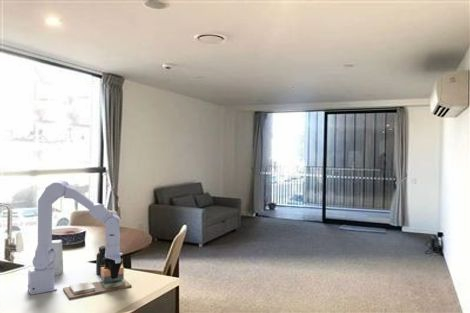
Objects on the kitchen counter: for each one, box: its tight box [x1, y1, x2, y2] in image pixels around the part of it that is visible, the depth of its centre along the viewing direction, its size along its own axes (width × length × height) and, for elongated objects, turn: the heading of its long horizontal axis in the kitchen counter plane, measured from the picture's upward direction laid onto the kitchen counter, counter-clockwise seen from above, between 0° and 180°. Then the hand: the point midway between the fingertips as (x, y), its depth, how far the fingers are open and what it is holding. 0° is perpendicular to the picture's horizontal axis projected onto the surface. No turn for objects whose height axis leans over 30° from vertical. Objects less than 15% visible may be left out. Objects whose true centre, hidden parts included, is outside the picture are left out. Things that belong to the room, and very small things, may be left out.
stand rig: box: [62, 278, 133, 300], centre depth 155 cm, size 24×12×2 cm, turn 125°
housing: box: [100, 265, 125, 283], centre depth 158 cm, size 5×8×5 cm, turn 125°
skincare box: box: [52, 239, 64, 276], centre depth 173 cm, size 8×6×15 cm
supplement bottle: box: [95, 245, 106, 276], centre depth 175 cm, size 7×7×12 cm
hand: (112, 276), depth 158 cm, fingers closed on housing, 5 cm apart
